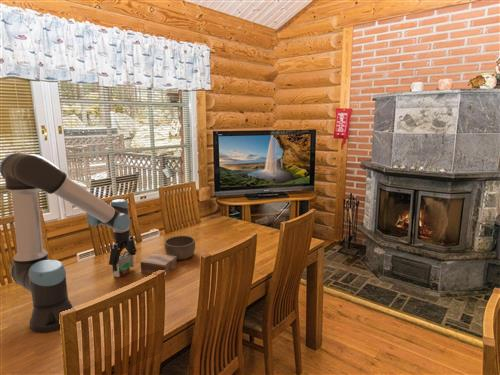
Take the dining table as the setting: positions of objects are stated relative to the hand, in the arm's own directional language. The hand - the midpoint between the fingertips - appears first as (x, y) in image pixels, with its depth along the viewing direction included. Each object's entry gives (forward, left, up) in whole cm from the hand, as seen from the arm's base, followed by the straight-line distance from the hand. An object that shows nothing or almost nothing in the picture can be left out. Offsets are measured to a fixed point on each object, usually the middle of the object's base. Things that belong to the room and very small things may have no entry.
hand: (124, 271), depth 171 cm
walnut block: (+10, -14, -2) cm, 17 cm away
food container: (0, 0, -2) cm, 2 cm away
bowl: (+29, -16, -2) cm, 33 cm away
